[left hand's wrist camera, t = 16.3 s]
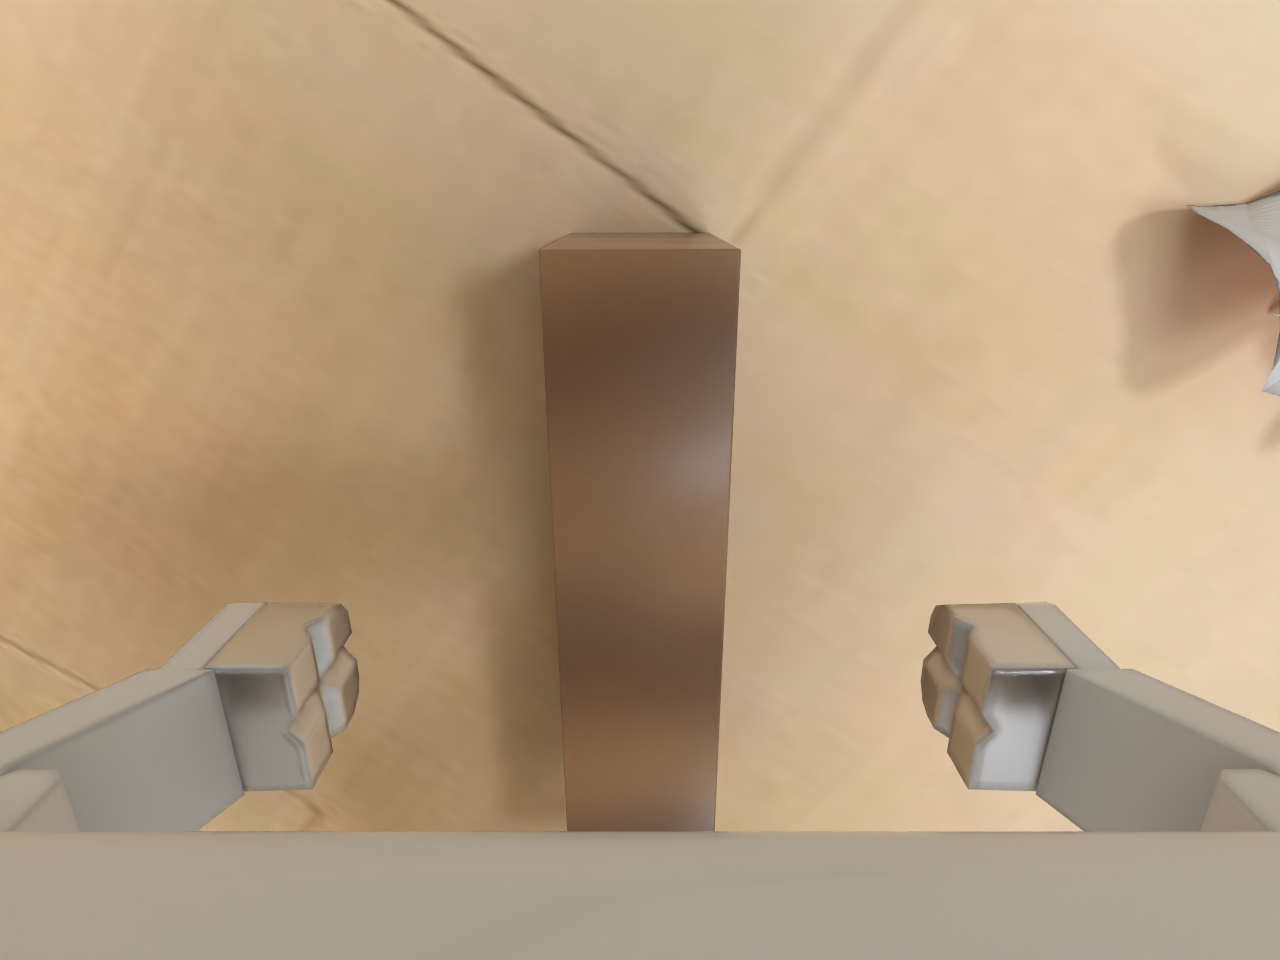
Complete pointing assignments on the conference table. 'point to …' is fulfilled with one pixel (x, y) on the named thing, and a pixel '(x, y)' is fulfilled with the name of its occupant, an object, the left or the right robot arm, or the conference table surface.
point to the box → (640, 517)
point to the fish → (1255, 245)
